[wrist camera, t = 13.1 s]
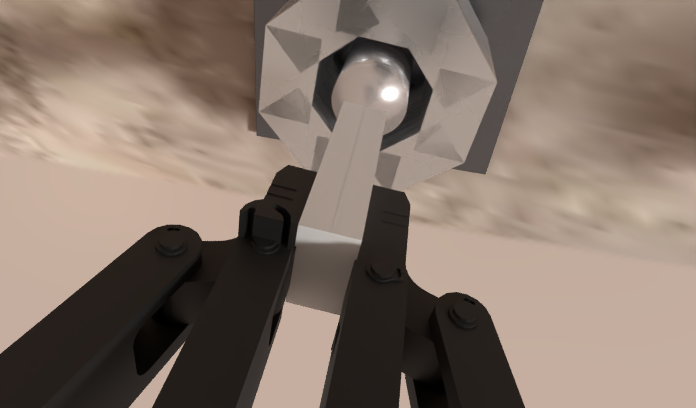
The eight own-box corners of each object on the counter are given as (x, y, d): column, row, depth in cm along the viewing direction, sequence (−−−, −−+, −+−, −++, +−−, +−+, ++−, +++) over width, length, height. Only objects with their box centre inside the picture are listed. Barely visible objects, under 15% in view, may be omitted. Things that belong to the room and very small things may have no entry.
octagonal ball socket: (282, 113, 26) (254, 162, 22) (304, -73, 21) (271, -51, 17) (444, 153, 26) (444, 209, 22) (510, -23, 21) (526, 11, 17)
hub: (259, 131, 30) (210, 210, 24) (255, -145, 22) (176, -137, 15) (484, 168, 29) (496, 261, 23) (574, -103, 21) (632, -75, 14)
